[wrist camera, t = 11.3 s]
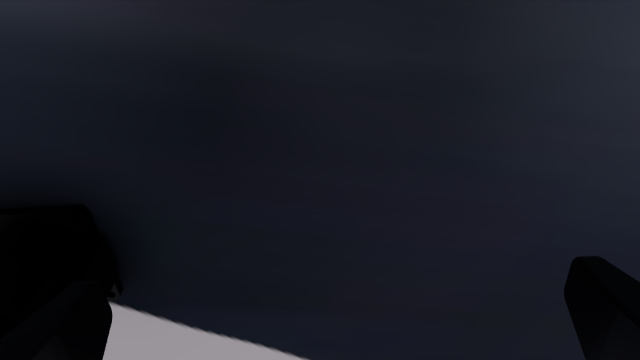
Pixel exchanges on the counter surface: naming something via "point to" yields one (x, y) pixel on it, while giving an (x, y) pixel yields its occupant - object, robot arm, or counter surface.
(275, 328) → the counter surface
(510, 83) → the counter surface
